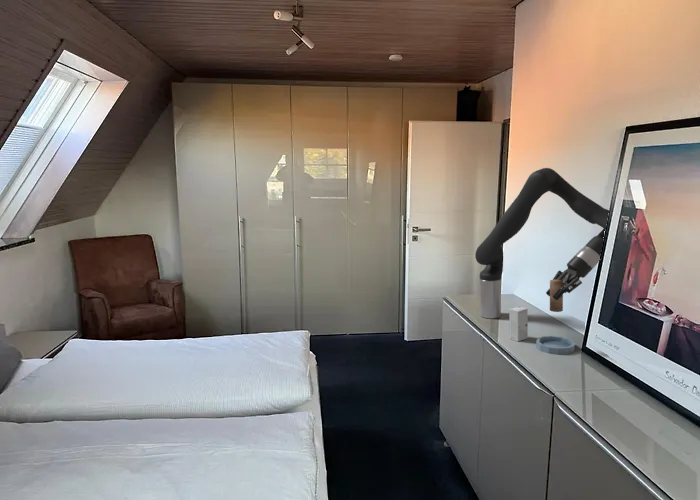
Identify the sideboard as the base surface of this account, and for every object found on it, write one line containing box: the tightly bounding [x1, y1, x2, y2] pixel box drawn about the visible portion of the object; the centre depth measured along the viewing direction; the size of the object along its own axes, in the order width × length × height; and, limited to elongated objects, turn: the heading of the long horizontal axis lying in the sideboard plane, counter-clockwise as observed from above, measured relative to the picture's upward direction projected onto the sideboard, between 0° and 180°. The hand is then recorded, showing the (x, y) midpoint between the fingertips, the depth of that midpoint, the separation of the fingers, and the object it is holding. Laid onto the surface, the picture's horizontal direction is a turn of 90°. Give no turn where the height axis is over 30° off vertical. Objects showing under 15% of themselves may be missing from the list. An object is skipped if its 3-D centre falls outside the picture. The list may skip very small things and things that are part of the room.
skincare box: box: [508, 306, 529, 342], centre depth 192 cm, size 6×4×12 cm
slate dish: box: [535, 335, 576, 355], centre depth 182 cm, size 13×13×2 cm
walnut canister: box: [549, 279, 564, 313], centre depth 179 cm, size 4×4×11 cm
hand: (551, 296), depth 179 cm, fingers closed on walnut canister, 4 cm apart
